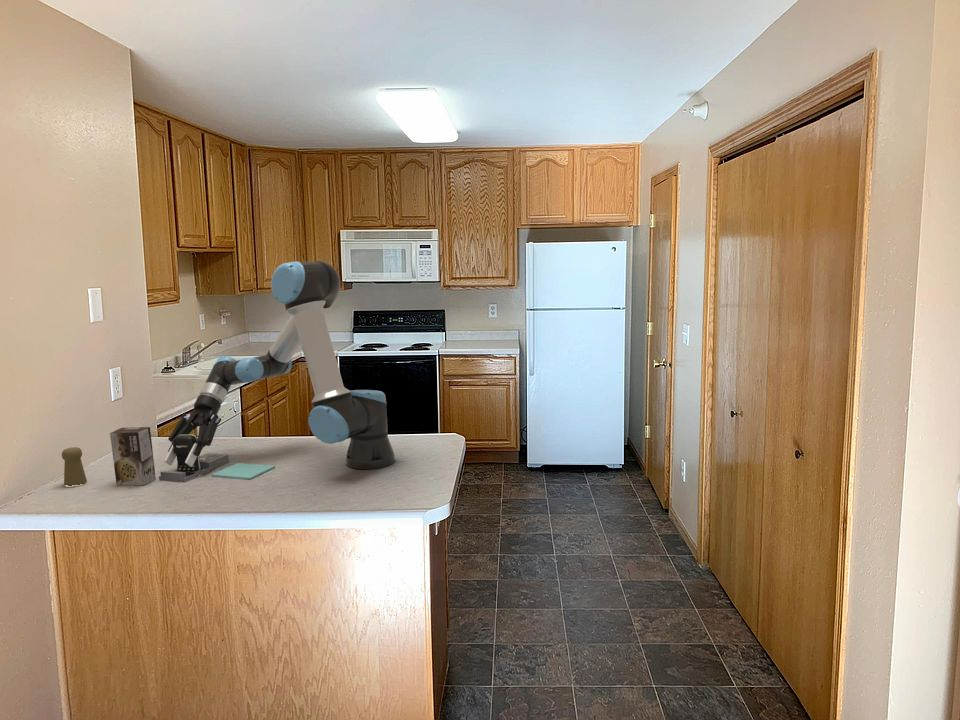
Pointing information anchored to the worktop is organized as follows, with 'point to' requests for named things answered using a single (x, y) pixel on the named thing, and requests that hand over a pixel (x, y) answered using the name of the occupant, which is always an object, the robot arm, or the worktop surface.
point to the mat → (243, 471)
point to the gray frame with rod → (206, 463)
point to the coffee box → (133, 456)
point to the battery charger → (185, 452)
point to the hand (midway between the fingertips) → (178, 463)
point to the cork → (73, 467)
